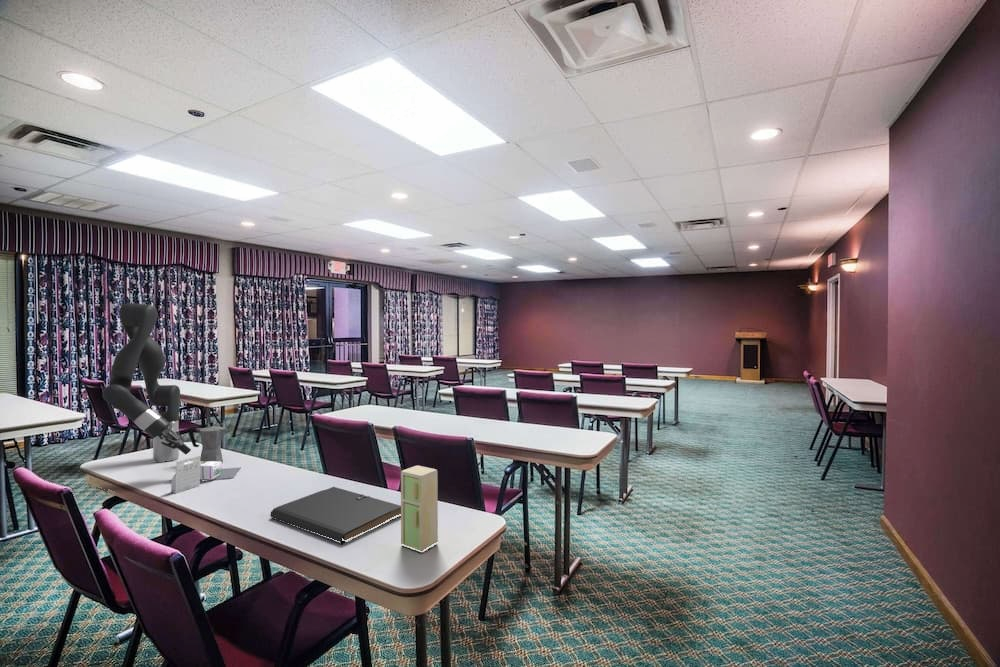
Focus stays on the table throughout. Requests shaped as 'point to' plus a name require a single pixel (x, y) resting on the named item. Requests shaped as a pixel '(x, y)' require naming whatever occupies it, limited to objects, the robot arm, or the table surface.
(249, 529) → the table surface
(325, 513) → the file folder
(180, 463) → the ink box
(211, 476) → the syrup box
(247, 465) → the table surface
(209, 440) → the coffeepot
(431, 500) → the toy refrigerator
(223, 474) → the mat
